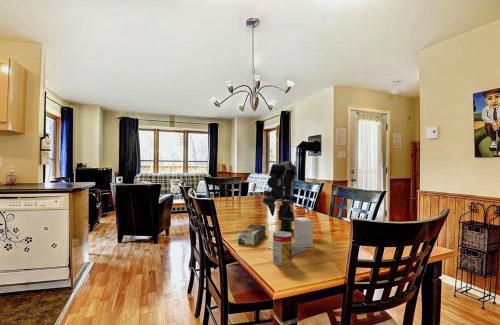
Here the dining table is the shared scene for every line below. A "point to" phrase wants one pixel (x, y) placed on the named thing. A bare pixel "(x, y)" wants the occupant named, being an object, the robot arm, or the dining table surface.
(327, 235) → the dining table surface
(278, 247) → the canned food
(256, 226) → the juice carton
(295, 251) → the mat
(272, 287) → the dining table surface
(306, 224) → the small box
